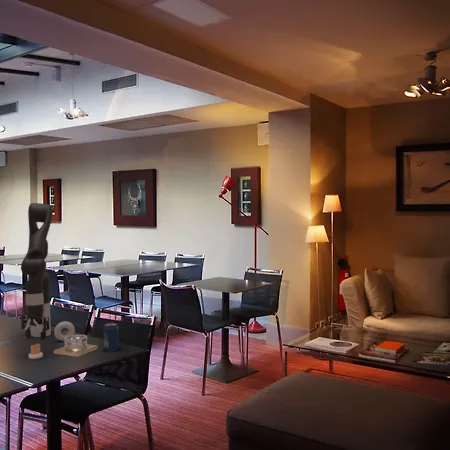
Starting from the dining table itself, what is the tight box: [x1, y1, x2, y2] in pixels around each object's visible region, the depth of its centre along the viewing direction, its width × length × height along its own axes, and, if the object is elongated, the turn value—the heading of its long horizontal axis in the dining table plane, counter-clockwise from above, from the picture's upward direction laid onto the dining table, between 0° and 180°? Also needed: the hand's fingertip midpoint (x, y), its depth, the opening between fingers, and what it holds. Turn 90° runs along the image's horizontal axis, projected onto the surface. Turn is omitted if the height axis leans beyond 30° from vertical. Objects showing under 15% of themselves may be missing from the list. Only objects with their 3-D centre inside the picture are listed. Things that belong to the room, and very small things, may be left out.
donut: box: [53, 321, 76, 342], centre depth 257 cm, size 10×4×10 cm, turn 113°
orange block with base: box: [28, 343, 44, 360], centre depth 230 cm, size 6×6×6 cm
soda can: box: [102, 322, 120, 352], centre depth 240 cm, size 7×7×12 cm
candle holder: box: [53, 334, 99, 358], centre depth 238 cm, size 14×14×6 cm
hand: (35, 339), depth 229 cm, fingers open, 8 cm apart
